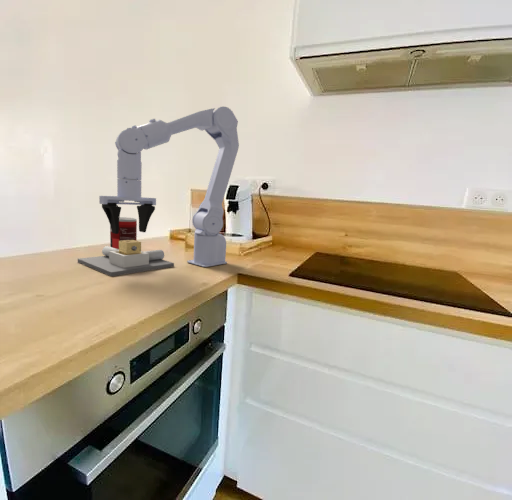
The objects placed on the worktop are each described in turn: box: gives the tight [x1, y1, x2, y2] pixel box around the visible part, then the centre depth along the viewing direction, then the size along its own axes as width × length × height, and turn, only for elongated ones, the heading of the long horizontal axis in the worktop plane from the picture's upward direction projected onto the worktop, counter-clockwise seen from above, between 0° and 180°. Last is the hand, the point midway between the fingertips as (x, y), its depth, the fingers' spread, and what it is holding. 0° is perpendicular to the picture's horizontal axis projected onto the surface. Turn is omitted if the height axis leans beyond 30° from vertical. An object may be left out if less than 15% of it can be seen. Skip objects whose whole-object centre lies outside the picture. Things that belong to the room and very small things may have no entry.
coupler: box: [119, 240, 142, 255], centre depth 84 cm, size 4×5×6 cm
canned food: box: [109, 216, 138, 249], centre depth 102 cm, size 8×8×11 cm
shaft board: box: [77, 245, 175, 277], centre depth 87 cm, size 18×18×4 cm
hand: (129, 232), depth 83 cm, fingers open, 7 cm apart
